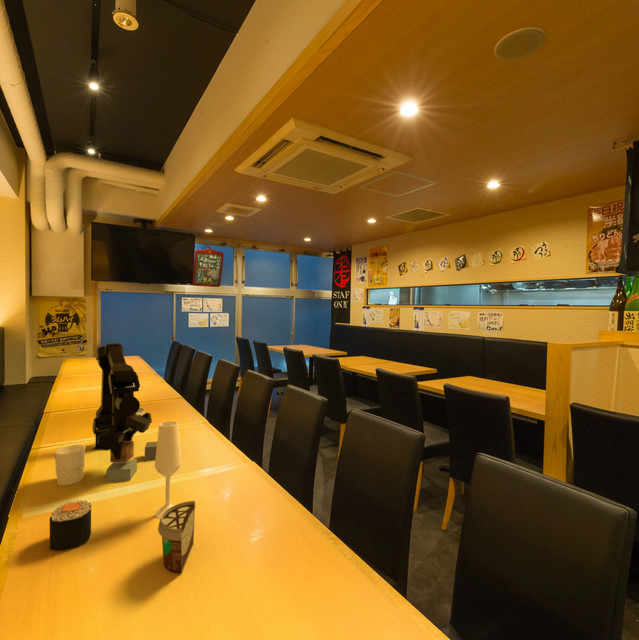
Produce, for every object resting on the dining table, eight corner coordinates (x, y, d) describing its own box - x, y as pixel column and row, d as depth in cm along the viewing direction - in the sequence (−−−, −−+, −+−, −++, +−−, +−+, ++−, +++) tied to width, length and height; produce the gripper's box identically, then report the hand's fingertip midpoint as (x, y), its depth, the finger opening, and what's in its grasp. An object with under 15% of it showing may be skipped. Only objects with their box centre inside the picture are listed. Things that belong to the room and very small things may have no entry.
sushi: (45, 555, 82) (45, 519, 81) (55, 533, 89) (55, 501, 89) (88, 546, 85) (88, 512, 85) (94, 526, 93) (94, 495, 92)
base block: (106, 482, 116) (106, 470, 116) (114, 472, 123) (114, 460, 123) (130, 481, 117) (130, 468, 117) (136, 471, 124) (137, 459, 124)
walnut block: (126, 462, 117) (126, 446, 117) (110, 462, 117) (110, 446, 117) (133, 455, 122) (133, 440, 122) (118, 455, 122) (118, 440, 122)
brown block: (144, 461, 132) (144, 447, 132) (146, 455, 137) (146, 442, 137) (159, 459, 133) (160, 446, 133) (161, 454, 138) (161, 441, 138)
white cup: (52, 488, 111) (52, 455, 110) (57, 477, 118) (57, 446, 117) (83, 483, 114) (83, 451, 114) (86, 473, 121) (86, 443, 121)
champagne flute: (161, 504, 104) (162, 419, 103) (184, 505, 103) (186, 420, 103) (149, 518, 97) (150, 427, 96) (174, 519, 97) (175, 428, 96)
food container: (168, 541, 87) (168, 500, 87) (195, 540, 88) (195, 499, 88) (148, 580, 75) (149, 531, 75) (179, 578, 76) (180, 530, 75)
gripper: (135, 417, 110) (134, 468, 111) (159, 401, 129) (158, 445, 129) (96, 416, 110) (96, 468, 110) (126, 400, 128) (126, 445, 129)
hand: (122, 455), depth 120 cm, fingers closed on walnut block, 5 cm apart
